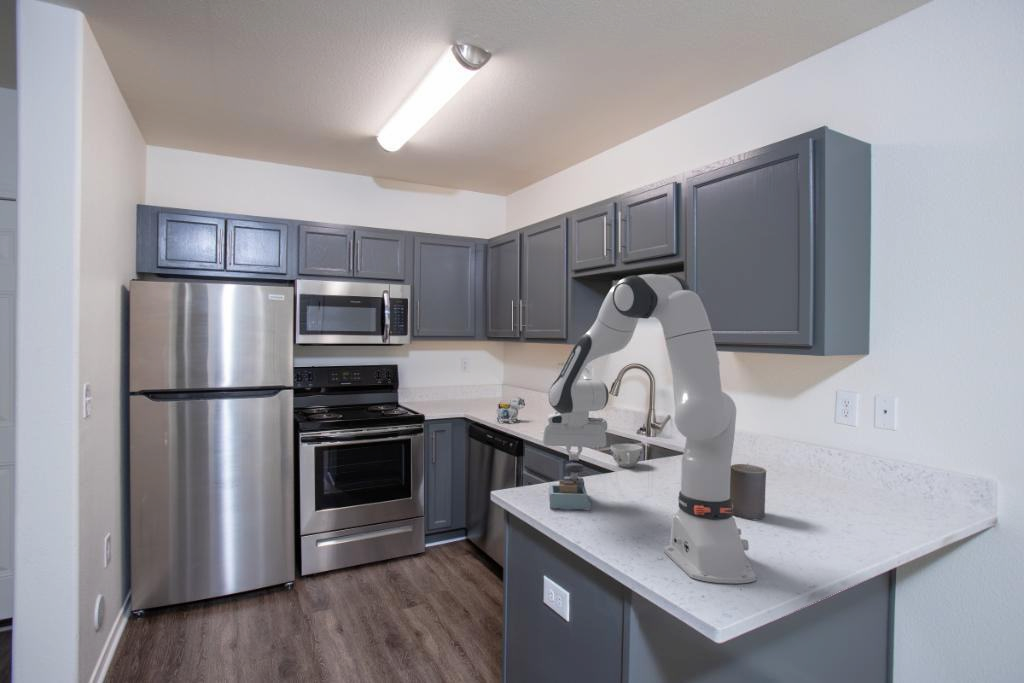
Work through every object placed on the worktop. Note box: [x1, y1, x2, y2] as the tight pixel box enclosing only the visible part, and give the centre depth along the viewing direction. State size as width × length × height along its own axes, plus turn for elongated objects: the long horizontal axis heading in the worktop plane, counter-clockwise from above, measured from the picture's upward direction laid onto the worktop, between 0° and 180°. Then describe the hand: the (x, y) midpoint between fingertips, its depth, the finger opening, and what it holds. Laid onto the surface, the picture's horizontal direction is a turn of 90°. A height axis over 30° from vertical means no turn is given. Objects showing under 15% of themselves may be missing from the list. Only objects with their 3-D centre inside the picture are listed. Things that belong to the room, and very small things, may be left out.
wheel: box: [565, 462, 584, 481], centre depth 169 cm, size 6×6×5 cm
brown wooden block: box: [558, 478, 577, 494], centre depth 161 cm, size 6×5×6 cm
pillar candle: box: [730, 463, 767, 520], centre depth 155 cm, size 10×10×15 cm
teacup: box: [610, 443, 644, 469], centre depth 209 cm, size 15×12×8 cm
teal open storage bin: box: [548, 476, 592, 510], centre depth 164 cm, size 16×12×6 cm
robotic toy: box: [496, 396, 526, 424], centre depth 309 cm, size 13×17×15 cm
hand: (573, 460), depth 169 cm, fingers closed
